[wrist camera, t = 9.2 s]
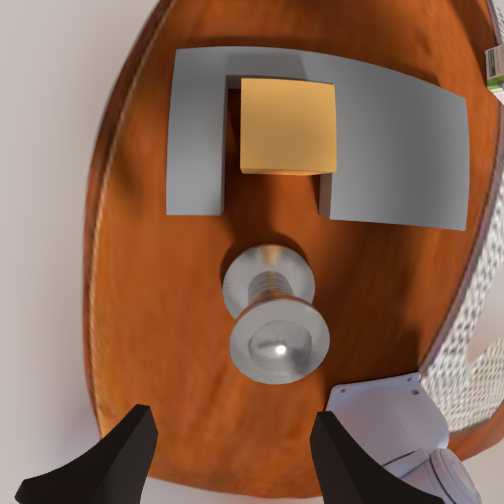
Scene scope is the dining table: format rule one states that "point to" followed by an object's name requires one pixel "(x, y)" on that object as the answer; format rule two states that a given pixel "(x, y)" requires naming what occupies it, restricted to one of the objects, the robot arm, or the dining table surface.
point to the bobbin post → (274, 315)
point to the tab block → (287, 127)
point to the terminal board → (347, 136)
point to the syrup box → (495, 71)
